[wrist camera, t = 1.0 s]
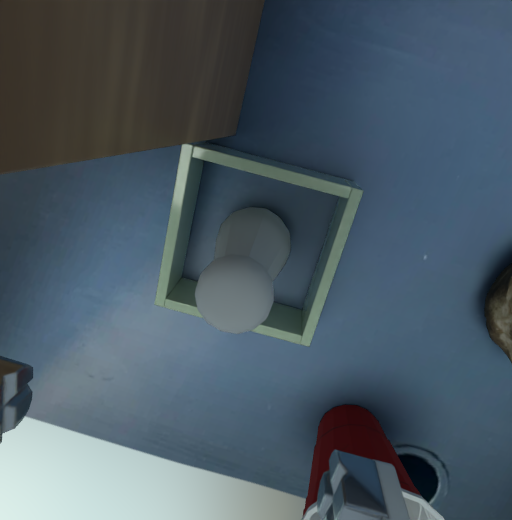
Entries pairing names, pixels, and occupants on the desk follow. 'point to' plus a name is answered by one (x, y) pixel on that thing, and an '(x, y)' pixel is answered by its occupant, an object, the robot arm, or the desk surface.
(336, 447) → the plastic cup
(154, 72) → the block
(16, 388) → the robot arm
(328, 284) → the holder
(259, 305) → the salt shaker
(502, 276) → the fossilized seashell
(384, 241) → the desk surface
